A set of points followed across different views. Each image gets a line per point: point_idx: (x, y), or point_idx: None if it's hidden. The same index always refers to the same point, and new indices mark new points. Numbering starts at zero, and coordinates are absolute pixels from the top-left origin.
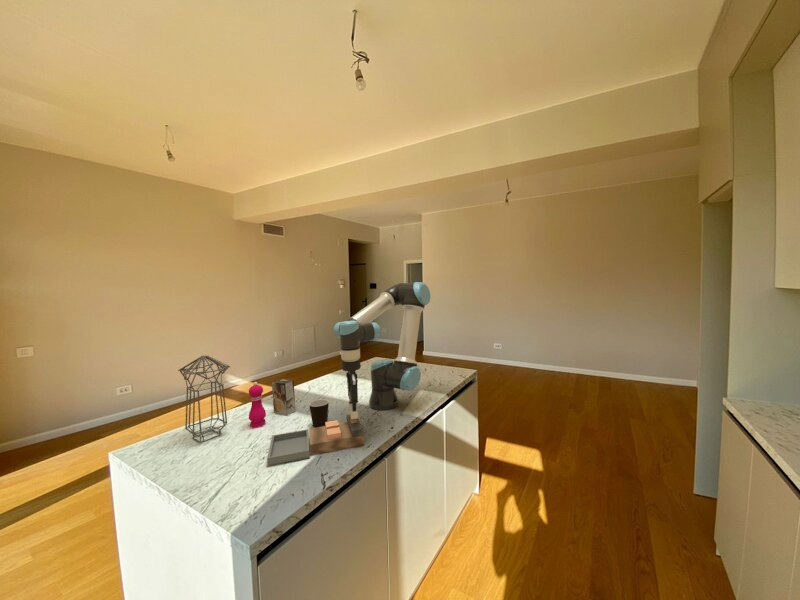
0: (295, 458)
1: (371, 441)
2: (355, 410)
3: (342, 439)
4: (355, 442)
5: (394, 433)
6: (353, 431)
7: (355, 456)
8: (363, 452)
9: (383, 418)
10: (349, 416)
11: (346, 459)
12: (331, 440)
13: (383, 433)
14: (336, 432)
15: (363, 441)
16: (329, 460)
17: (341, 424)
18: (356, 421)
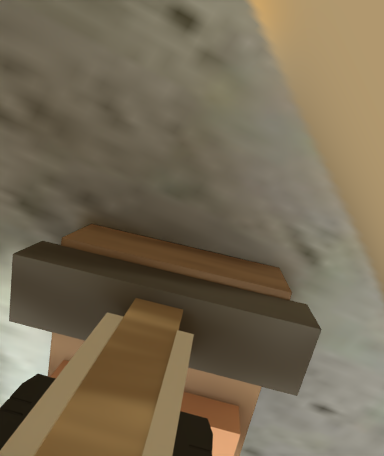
0: None
1: (269, 218)
2: (207, 437)
3: (254, 401)
4: None
5: (268, 44)
6: (299, 385)
7: (355, 345)
8: (348, 301)
9: (18, 7)
10: (46, 315)
11: (350, 384)
12: (236, 451)
13: (223, 112)
14: (221, 451)
15: (282, 277)
16: (305, 437)
17: (70, 341)
18: (180, 322)
